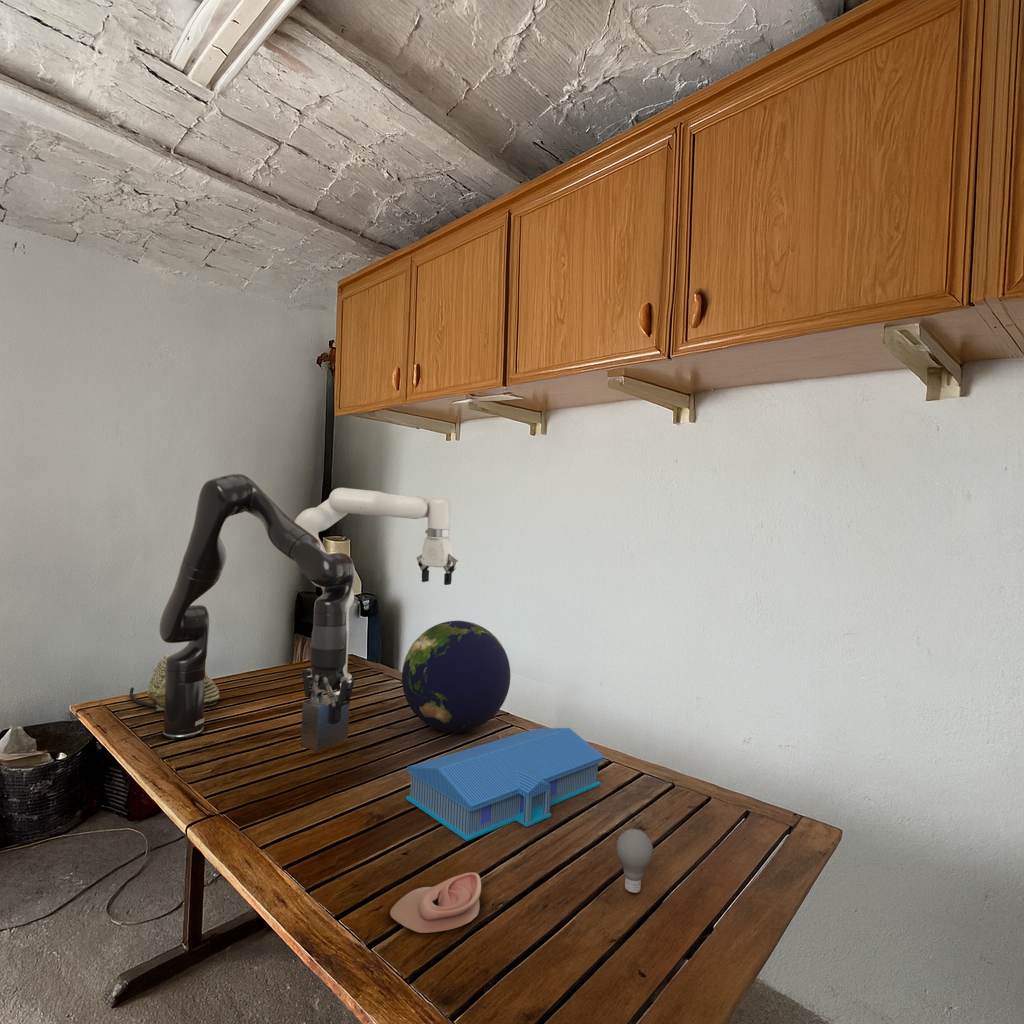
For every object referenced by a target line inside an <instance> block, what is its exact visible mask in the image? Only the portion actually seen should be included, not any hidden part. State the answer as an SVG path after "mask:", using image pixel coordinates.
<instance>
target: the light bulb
mask: <svg viewBox="0 0 1024 1024" xmlns="http://www.w3.org/2000/svg"><path fill="white" fill-rule="evenodd" d="M615 849H616V854H617V857H618V859H619V861H620V863H621V865H622V867H623V873H624V874H623V875H624V876H625V878H624V888H625V890H627V891H628V892H630V893H634V894H635V893H639V892H640V891H641V889H642V887H641V886H642V879H643V877H644V875H645V871H646V868H647V867H648V866H649V864H650V863H651V861H652V859H653V855H654V847H653V843H652V841H651V838H649V836H648V835H647V834H646V833H645V832H643V831H642V830H641V829H636V828H629V829H627V830H625V831H623V832H622V833H621V834H620V835H619V837H618V839H617V841H616V847H615Z"/></svg>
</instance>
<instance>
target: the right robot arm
mask: <svg viewBox="0 0 1024 1024" xmlns="http://www.w3.org/2000/svg"><path fill="white" fill-rule="evenodd" d="M348 514H353V515H354V514H355V515H365V516H374V517H390V518H391V517H392V518H401V519H411V520H419V519H423V518H425V519H426V518H427V529H426V530H425V534H426V535H427V536H425V537H424V541H423V544H422V545H423V546H422V552H421V554H420V555H418V556H416V561H417V565H418V567H419V568H420V571H421V583H426V582H427V583H428V582H429V581H430V580H429V579H430V570H429V569H430V567H431V568H443V570H444V571H445V573H444V577H443V585H445V586H450V585H452V581H453V580H452V579H453V577H452V576H453V573H454V571H455V570H457V566H458V565H459V563H460V562H459V560H458V559H456V558H455V557H454V556H453V550H452V549H453V548H452V540H451V538H450V523H451V522H450V521H451V500H449V499H448V498H440V497H439V498H435V497H434V498H427V497H421V496H411V495H400V494H391V493H386V492H383V491H378V490H370V489H369V490H368V489H359V488H348V487H337V488H335V489H333V490H332V491H331V492H330V494H329V496H328V498H327V499H326V500H324V501H323V502H322V503H320V504H319V505H317V506H316V507H309V508H306V509H304V510H303V511H301V512H300V513H299V515H297V517H296V518H295V519H294V522H295V523H296V524H298V525H299V526H301V527H302V528H303V529H305V530H306V531H308V532H309V533H310V534H312V535H313V536H314V537H315V538H317V539H318V541H319V542H320V549H321V550H322V551H323V552H324V553H326V554H328V553H327V551H326V548H325V546H324V543H323V542H322V541H321V539H320V537H319V533H320V532H324V531H326V530H327V529H329V528H330V527H332V526H333V525H334V524H336V523H337V522H338V521H340V520H342V519H343V518H345V516H347V515H348ZM310 582H311V583H312V584H313V585H314V586H315V587H317V588H321V590H322V592H324V588H325V587H322V586H319V585H317V584H315V583H313V582H312V581H311V580H310ZM354 601H355V593H354V591H353V589H352V590H351V593H350V597H349V600H348V603H347V623H346V624H347V650H346V664H345V665H344V667H343V672H344V677H346V678H348V679H351V678H352V679H353V676H352V674H351V673H350V672H348V663H349V642H350V641H349V638H350V608H351V607H352V606H353V604H354Z"/></svg>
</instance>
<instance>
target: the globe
mask: <svg viewBox="0 0 1024 1024" xmlns="http://www.w3.org/2000/svg"><path fill="white" fill-rule="evenodd" d="M511 675H512V674H511V665H510V660H509V657H508V655H507V652H506V650H505V647H504V646H503V644H502V643H501V641H500V640H499V639H498V638H497V637H496V636H495V634H494V633H492V632H491V631H490V630H489V629H487V628H485V627H483V626H481V625H480V624H477V623H474V622H471V621H468V620H448V621H444V622H440V623H437V624H435V625H433V626H431V627H429V628H428V629H427V630H425V631H424V632H422V633H421V634H420V635H419V636H418V637H417V638H416V639H415V640H414V642H413V643H412V644H411V646H410V647H409V649H408V651H407V653H406V655H405V658H404V662H403V665H402V671H401V685H402V686H401V687H402V691H403V695H404V698H405V700H406V702H407V705H408V706H409V708H410V709H411V711H412V712H413V713H414V715H415V716H416V717H417V718H418V719H419V720H420V721H422V722H423V723H424V724H426V725H427V726H429V727H430V728H433V729H436V730H438V731H441V732H445V733H451V734H453V733H454V734H455V733H456V734H457V733H464V732H465V733H466V732H470V731H473V730H475V729H478V728H480V727H481V726H483V725H485V724H486V723H488V722H489V721H490V720H492V718H493V717H495V716H496V715H497V713H498V712H499V711H500V709H501V708H502V706H503V705H504V702H505V701H506V699H507V696H508V694H509V690H510V685H511Z"/></svg>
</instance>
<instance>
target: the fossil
mask: <svg viewBox="0 0 1024 1024" xmlns="http://www.w3.org/2000/svg"><path fill="white" fill-rule="evenodd" d="M171 655H172V654H165V655H164V656H163V657H162V658H161V659H160V660H159V662H158V663H157V666H156V667H155V669H154V670H153V672H152V675H151V677H150V680H149V684H148V688H147V697H148V699H149V700H150V701H152V703H153V704H155V706H156V708H155V711H158V712H159V711H162V712H163V711H164V705H165V674H166V660H167V658H168V657H169V656H171ZM220 698H221V696H220V690H219V688H218V686H217V685H216V683H215V682H214V681H213V679H212V678H211V677H209V675H208V674H207V672H206V671H205V693H204V707H207V706H213V705H215V704H217V703H218V701H219V699H220Z"/></svg>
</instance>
